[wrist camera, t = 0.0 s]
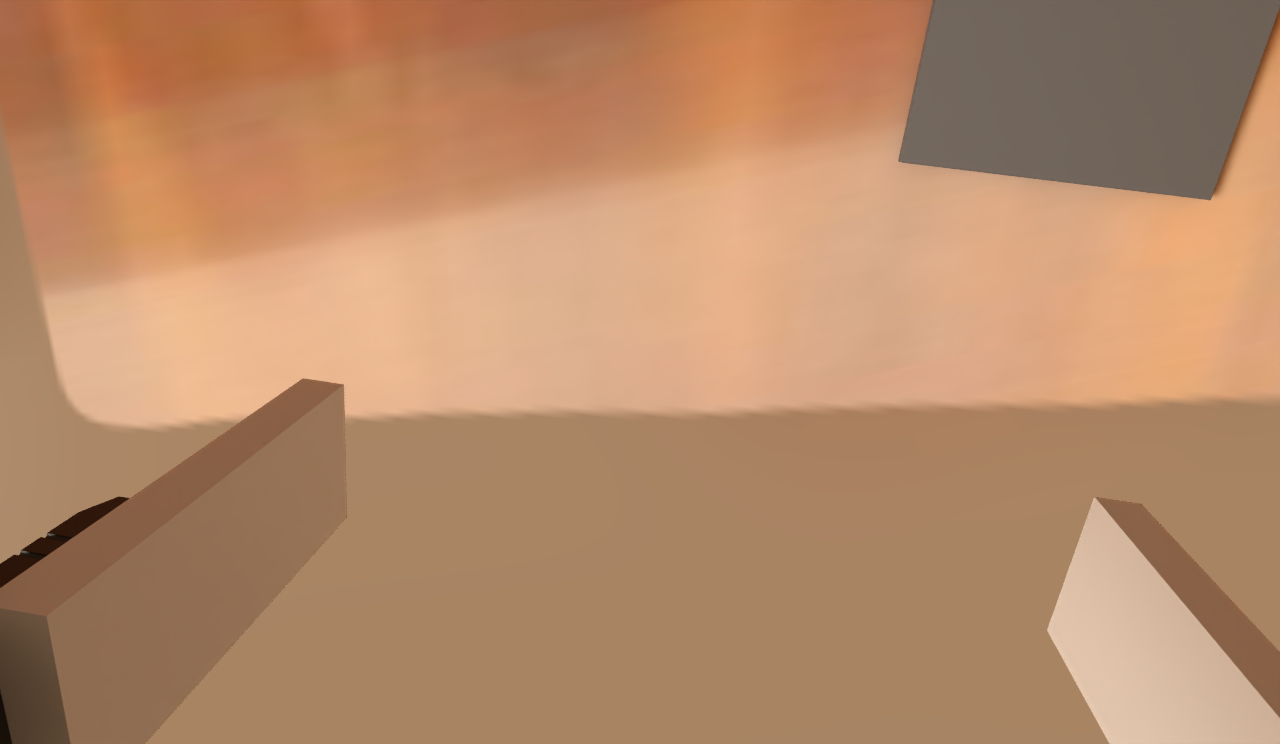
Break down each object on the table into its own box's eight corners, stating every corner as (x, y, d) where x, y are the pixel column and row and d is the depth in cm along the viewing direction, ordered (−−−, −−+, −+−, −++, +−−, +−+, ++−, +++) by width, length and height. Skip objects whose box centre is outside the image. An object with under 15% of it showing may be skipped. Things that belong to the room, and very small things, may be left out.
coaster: (973, -185, 33) (977, -190, 33) (1328, -153, 32) (1338, -157, 32) (898, 160, 38) (900, 162, 38) (1203, 198, 37) (1210, 200, 37)
